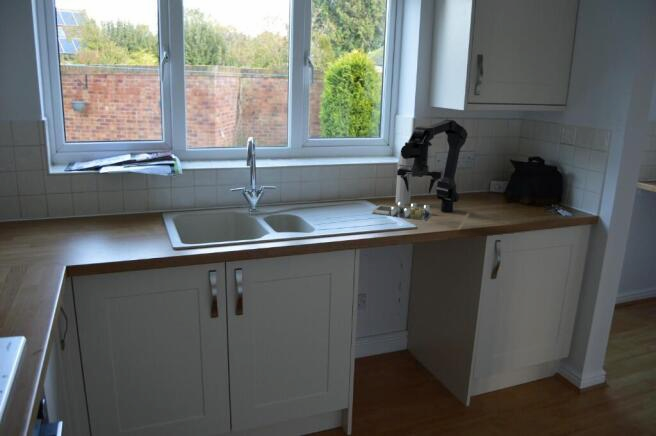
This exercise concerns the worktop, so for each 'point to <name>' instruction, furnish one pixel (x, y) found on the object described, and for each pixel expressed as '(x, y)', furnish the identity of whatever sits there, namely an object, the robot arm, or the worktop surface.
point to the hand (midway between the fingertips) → (418, 192)
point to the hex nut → (416, 212)
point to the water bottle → (401, 186)
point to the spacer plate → (401, 211)
